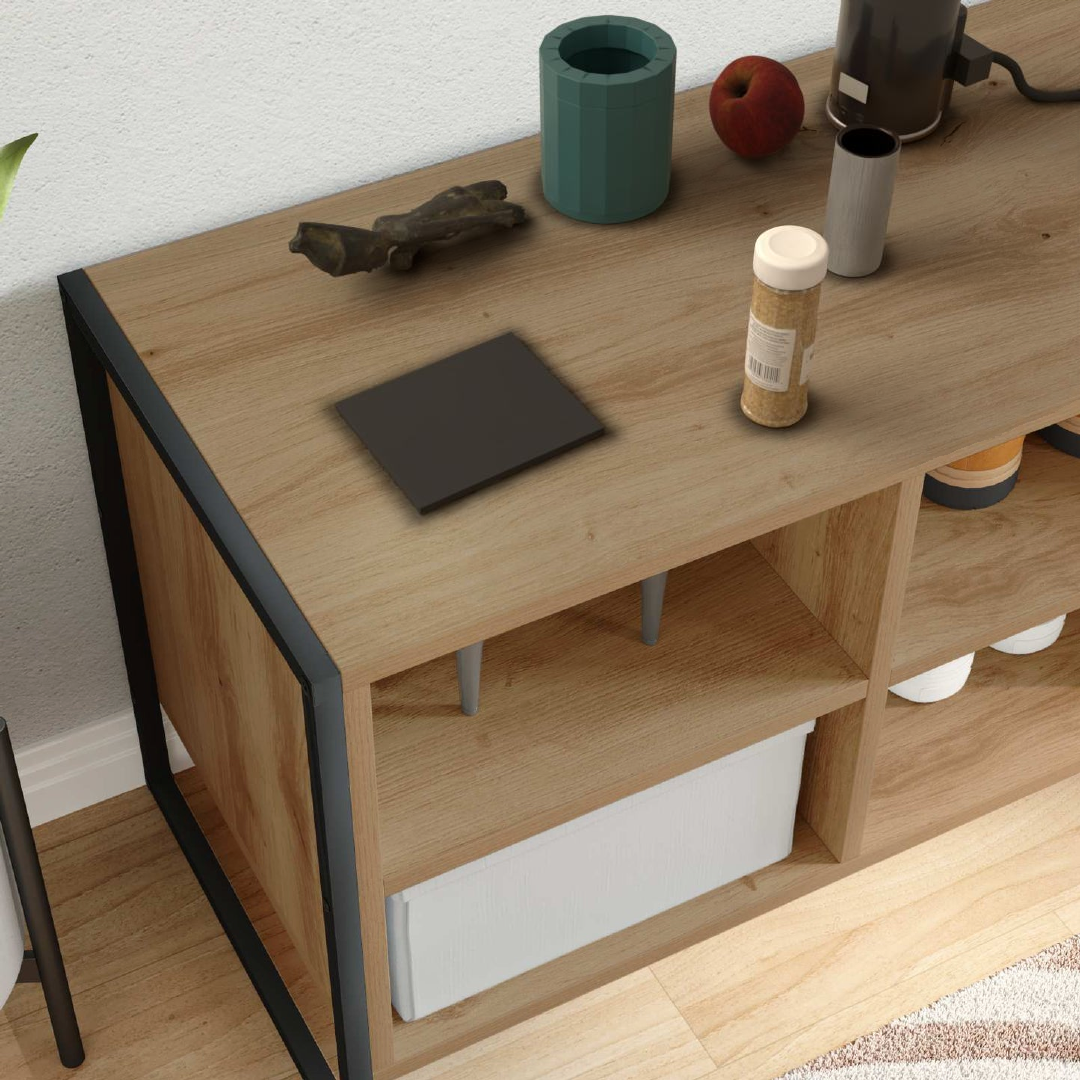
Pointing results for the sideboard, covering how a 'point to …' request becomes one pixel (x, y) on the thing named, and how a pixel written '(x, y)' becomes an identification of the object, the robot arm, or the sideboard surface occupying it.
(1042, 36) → the sideboard surface
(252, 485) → the sideboard surface
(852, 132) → the grey hollow cylinder
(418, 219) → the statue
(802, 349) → the spice bottle
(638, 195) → the jar
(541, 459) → the mat
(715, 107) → the apple
